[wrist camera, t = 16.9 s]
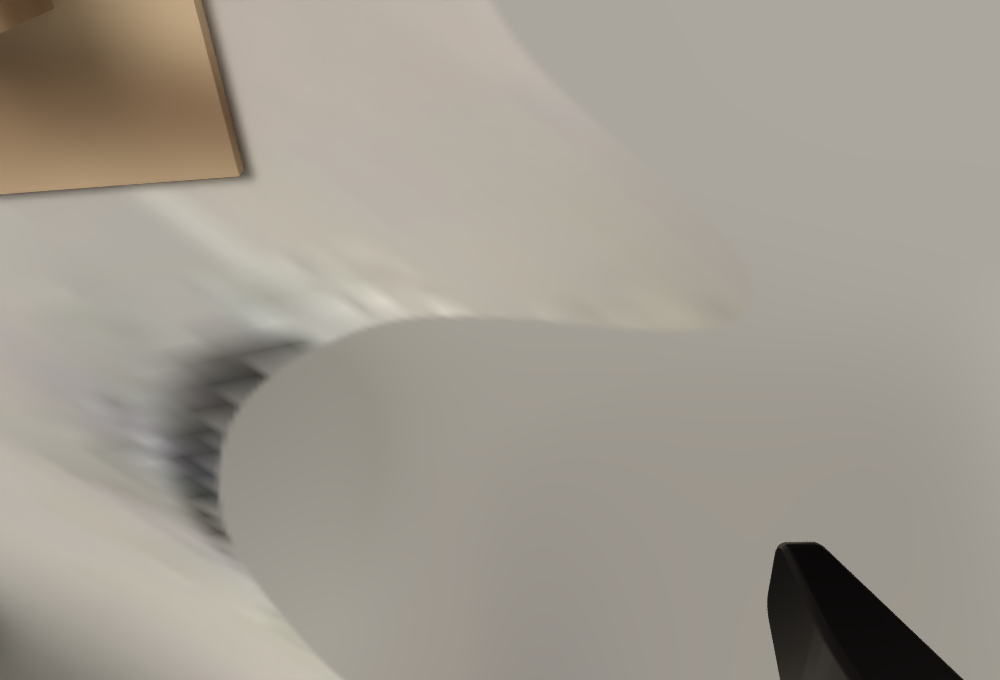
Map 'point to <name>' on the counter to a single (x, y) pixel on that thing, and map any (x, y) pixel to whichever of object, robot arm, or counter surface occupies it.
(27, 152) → the lid
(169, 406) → the counter surface
